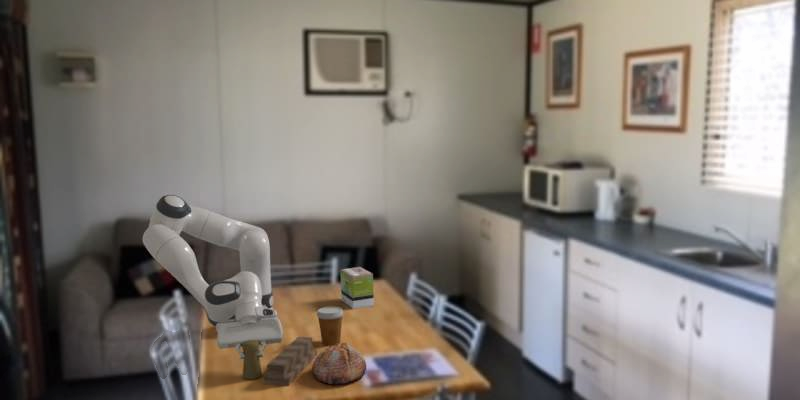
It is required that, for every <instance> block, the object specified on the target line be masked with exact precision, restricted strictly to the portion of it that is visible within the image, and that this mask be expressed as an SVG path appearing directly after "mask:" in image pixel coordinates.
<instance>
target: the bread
mask: <svg viewBox="0 0 800 400" xmlns="http://www.w3.org/2000/svg"><path fill="white" fill-rule="evenodd" d="M311 371H312V374H313V376H314V378H315V379H316V380H318V381H320V382H323V383H327V384H328V385H332V386H337V385H345V384H347V383H350V382H354V381H357V380H360V379H361V378H363V377H364V375H365V374H366V371H367V362H366V360H365V357H364V356H363V354H362V353H361V352H360V351H359V350H357V349H355V348H354V347H352V346H351V345H349V343H347V342H342V343H341V342H340V343H339V342H337V343H336V344H335V345H329V346H327V348H323V350H322V351H320V352H319V354H317V356H316V357H315V358H314V361H313V364H312V367H311Z"/></svg>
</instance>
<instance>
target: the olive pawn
mask: <svg viewBox="0 0 800 400" xmlns="http://www.w3.org/2000/svg"><path fill="white" fill-rule="evenodd" d="M241 349H242V352H244V355H245V358H244V359H243V365H242V378H243V379H245V380H254V379H258V378H261V377H262V376H263V371H262V366H261V361H260V360H261V359H260V357H258V350H260V345H259V343H258V341H256V340H248V341H245V342H244V343H243V345H242V347H241Z"/></svg>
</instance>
